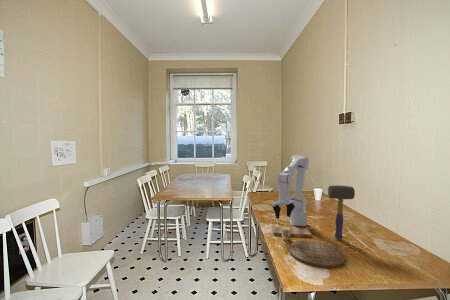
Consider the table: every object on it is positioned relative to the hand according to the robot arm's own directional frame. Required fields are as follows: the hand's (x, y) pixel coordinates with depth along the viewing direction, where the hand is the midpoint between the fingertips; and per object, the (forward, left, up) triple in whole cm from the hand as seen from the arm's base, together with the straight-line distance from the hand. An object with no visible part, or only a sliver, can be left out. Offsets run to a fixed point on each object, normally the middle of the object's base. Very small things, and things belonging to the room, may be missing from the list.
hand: (283, 217), depth 141 cm
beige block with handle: (-1, +2, -10) cm, 10 cm away
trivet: (-12, +23, -10) cm, 28 cm away
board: (-5, -2, -10) cm, 11 cm away
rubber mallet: (-30, +3, -10) cm, 32 cm away
